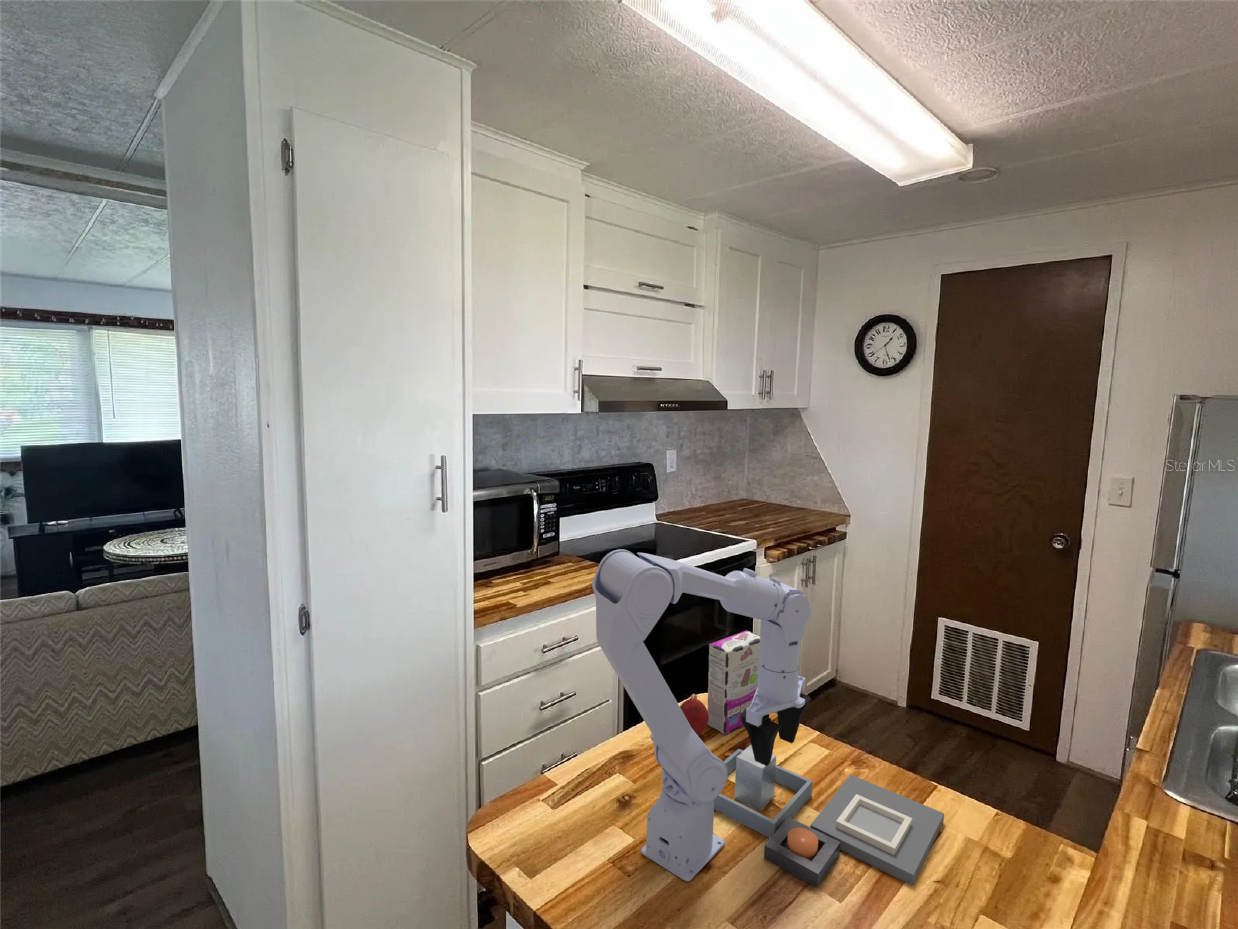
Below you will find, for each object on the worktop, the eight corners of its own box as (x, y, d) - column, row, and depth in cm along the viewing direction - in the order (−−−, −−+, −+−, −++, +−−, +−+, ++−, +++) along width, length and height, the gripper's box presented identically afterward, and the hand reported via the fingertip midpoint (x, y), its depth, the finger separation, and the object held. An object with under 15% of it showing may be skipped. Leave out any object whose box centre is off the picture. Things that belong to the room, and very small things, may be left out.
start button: (809, 869, 83) (810, 853, 83) (781, 854, 86) (782, 838, 85) (821, 853, 86) (822, 837, 86) (794, 839, 89) (795, 823, 89)
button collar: (817, 888, 81) (818, 874, 80) (763, 858, 86) (764, 845, 85) (839, 855, 87) (840, 842, 86) (788, 829, 91) (788, 817, 91)
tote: (773, 840, 89) (774, 824, 89) (695, 799, 98) (696, 784, 97) (811, 795, 99) (812, 781, 99) (738, 762, 108) (738, 748, 107)
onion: (709, 745, 112) (711, 703, 111) (677, 744, 113) (679, 702, 112) (705, 728, 118) (707, 688, 117) (675, 727, 118) (676, 687, 117)
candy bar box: (742, 707, 126) (746, 629, 124) (762, 717, 123) (766, 637, 121) (704, 725, 119) (708, 642, 117) (724, 736, 116) (728, 651, 114)
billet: (760, 811, 95) (762, 768, 94) (734, 798, 98) (736, 756, 97) (773, 797, 99) (776, 755, 98) (748, 785, 102) (750, 744, 101)
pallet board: (912, 885, 82) (914, 868, 81) (809, 834, 90) (810, 818, 90) (943, 822, 94) (944, 807, 93) (850, 783, 103) (851, 768, 102)
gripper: (780, 691, 83) (775, 785, 85) (826, 656, 94) (821, 741, 96) (734, 674, 88) (731, 764, 90) (783, 643, 99) (779, 724, 100)
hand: (774, 751), depth 93 cm, fingers open, 7 cm apart
